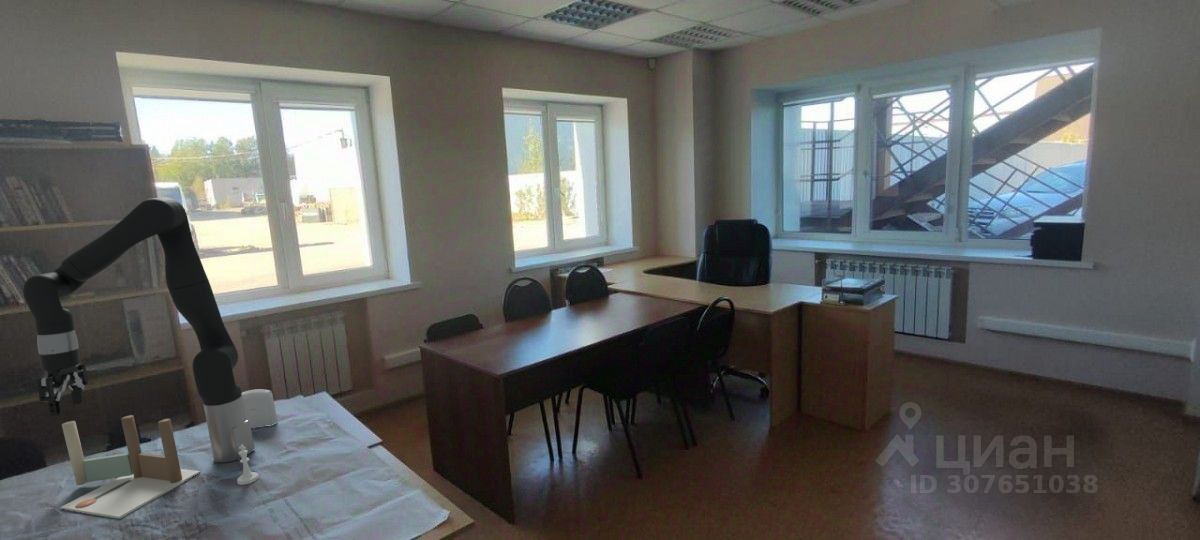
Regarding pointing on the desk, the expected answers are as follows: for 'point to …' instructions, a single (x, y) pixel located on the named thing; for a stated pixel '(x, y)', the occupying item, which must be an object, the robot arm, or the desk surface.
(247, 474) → the chess piece
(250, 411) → the photo printer
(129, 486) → the white board with posts
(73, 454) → the l-shaped bracket
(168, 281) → the robot arm
